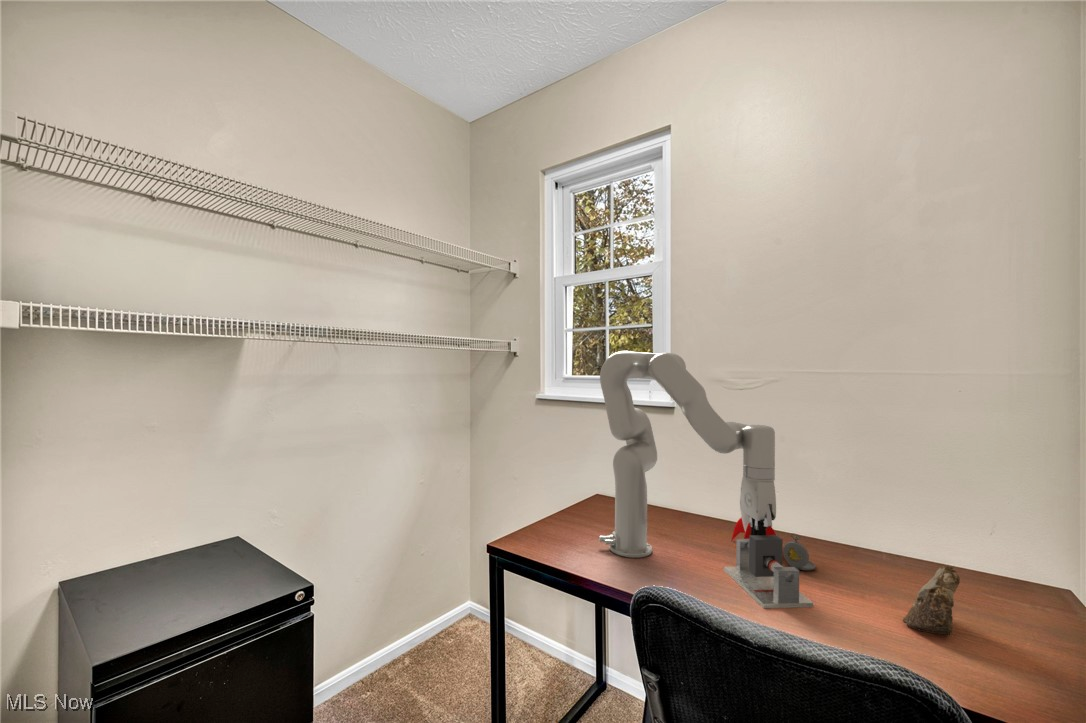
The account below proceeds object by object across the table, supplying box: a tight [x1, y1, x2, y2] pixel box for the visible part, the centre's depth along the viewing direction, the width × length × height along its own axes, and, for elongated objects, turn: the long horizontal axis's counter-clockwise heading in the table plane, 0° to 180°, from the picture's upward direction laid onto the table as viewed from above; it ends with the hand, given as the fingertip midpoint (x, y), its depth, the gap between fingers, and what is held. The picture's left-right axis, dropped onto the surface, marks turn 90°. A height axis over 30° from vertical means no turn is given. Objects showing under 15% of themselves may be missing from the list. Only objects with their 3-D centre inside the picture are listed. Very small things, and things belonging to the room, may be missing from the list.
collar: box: [749, 534, 784, 577], centre depth 118 cm, size 7×3×9 cm, turn 94°
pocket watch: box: [782, 533, 816, 571], centre depth 130 cm, size 8×8×10 cm
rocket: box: [731, 508, 777, 541], centre depth 144 cm, size 11×11×25 cm
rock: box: [902, 565, 961, 637], centre depth 101 cm, size 15×8×15 cm
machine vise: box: [723, 538, 814, 609], centre depth 118 cm, size 12×20×8 cm, turn 4°
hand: (758, 543), depth 122 cm, fingers closed
